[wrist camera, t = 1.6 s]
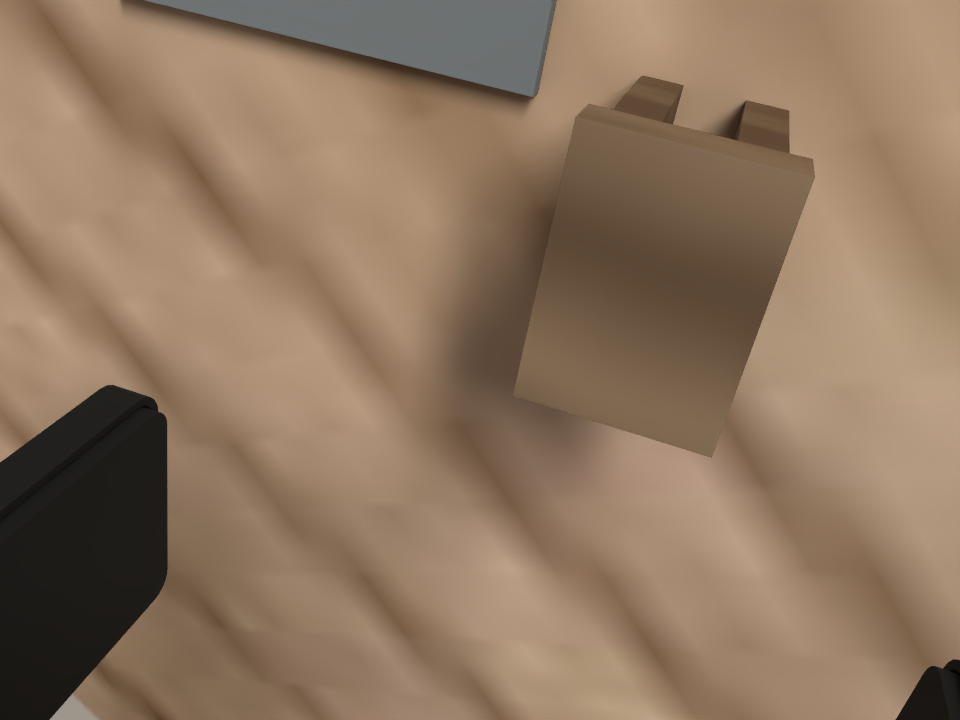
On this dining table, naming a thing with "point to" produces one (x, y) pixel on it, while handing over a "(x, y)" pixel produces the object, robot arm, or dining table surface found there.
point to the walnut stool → (660, 266)
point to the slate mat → (412, 32)
